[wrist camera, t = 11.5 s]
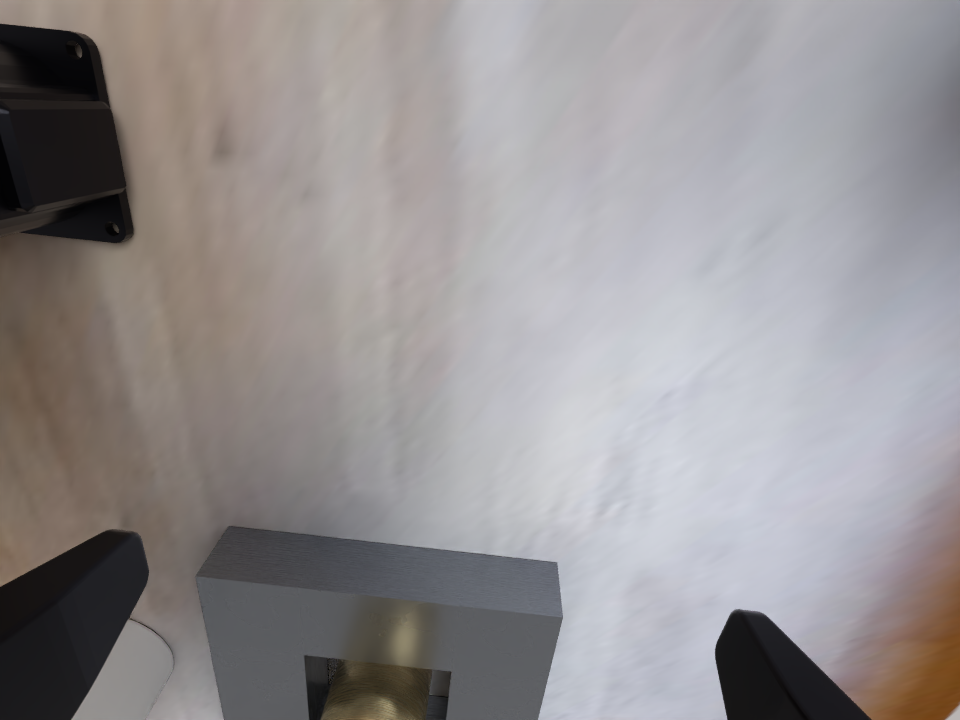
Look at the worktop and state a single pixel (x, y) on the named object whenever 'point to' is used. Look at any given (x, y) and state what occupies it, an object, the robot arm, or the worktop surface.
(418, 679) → the brass bushing
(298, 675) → the plate
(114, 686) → the mug
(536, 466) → the worktop surface
